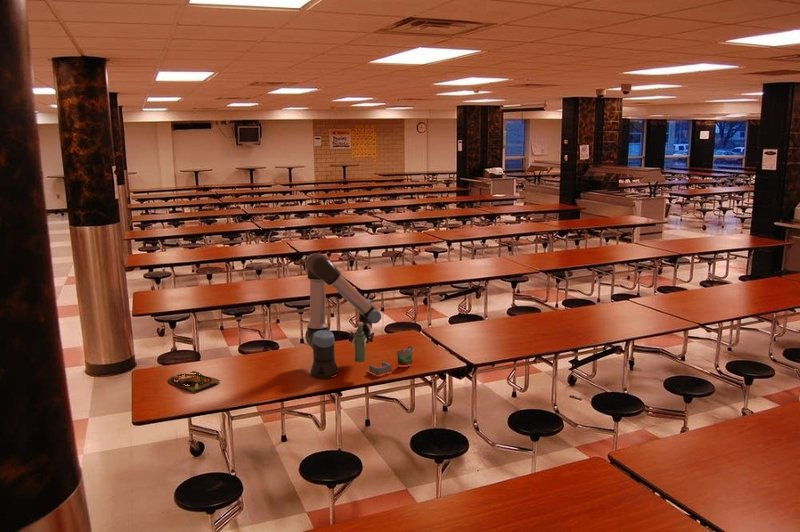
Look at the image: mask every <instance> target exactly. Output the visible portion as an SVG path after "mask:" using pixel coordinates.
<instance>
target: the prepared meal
mask: <svg viewBox="0 0 800 532" xmlns="http://www.w3.org/2000/svg"><path fill="white" fill-rule="evenodd" d="M186 373H187V372H186ZM186 373H179V374H176V375H173V376H172V377H170V378H168V379H167V381H168V382H167V383H168V384H171V385H173V386H176V387H178V388H182V389H186V390H187V389H188V391H190V392H191V393H192V394H193V395H194V394H195V393H196V391H199V390H202V389H203V388H206V387H208V386H211V385H214V384H216V385H220V384H221V382H220V381H221V379H218V378H216V377H215V378H214V377H211V376H207V375H203V374H202V373H200V372H199V371H196V370H192V371H190V373H196V374H186ZM184 374H185V377H184V378H182V377H183V376H182V375H184ZM199 374H200V375H199ZM179 376H181V377H179ZM187 376H192V377H187ZM193 376H194V377H193ZM179 378H180V379H179ZM174 379H175V381H174ZM177 380H178V381H177ZM183 384H185V385H187V384H188V385H190V386H185V385H183Z"/></svg>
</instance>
